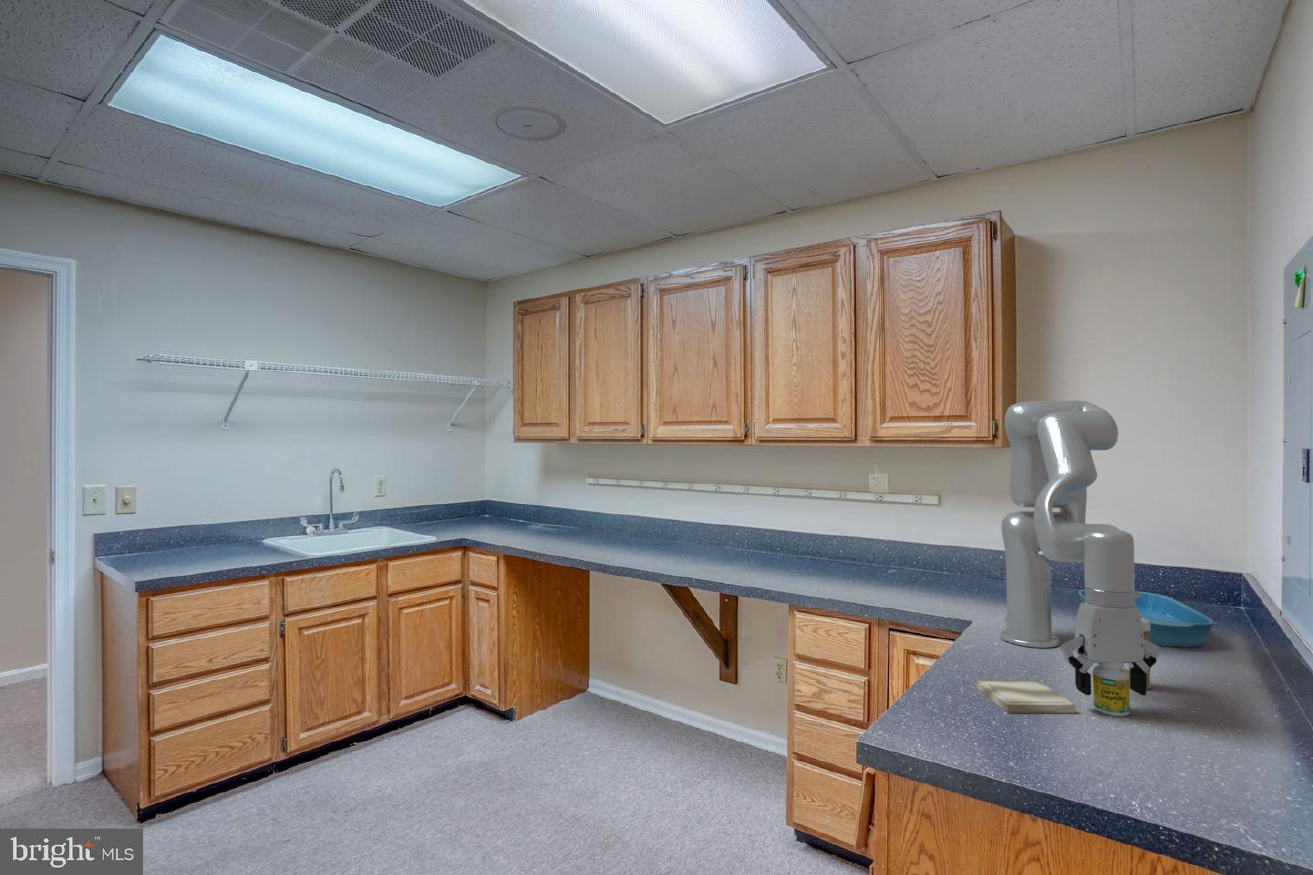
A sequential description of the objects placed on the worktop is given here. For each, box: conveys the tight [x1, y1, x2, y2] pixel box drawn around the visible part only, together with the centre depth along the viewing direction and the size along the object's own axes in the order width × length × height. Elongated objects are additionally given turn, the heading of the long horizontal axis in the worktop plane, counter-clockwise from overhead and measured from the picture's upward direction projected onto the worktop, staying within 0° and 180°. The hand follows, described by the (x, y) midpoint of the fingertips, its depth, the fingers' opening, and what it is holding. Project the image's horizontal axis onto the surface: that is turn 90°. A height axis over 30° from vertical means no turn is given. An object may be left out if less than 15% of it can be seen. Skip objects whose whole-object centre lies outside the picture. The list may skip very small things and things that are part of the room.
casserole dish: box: [1078, 588, 1214, 648], centre depth 168 cm, size 37×22×7 cm, turn 163°
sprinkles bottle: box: [1123, 618, 1152, 690], centre depth 130 cm, size 5×5×14 cm
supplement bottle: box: [1092, 662, 1131, 717], centre depth 118 cm, size 5×5×10 cm
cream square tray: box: [976, 679, 1076, 714], centre depth 123 cm, size 12×12×2 cm
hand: (1110, 692), depth 118 cm, fingers open, 9 cm apart
